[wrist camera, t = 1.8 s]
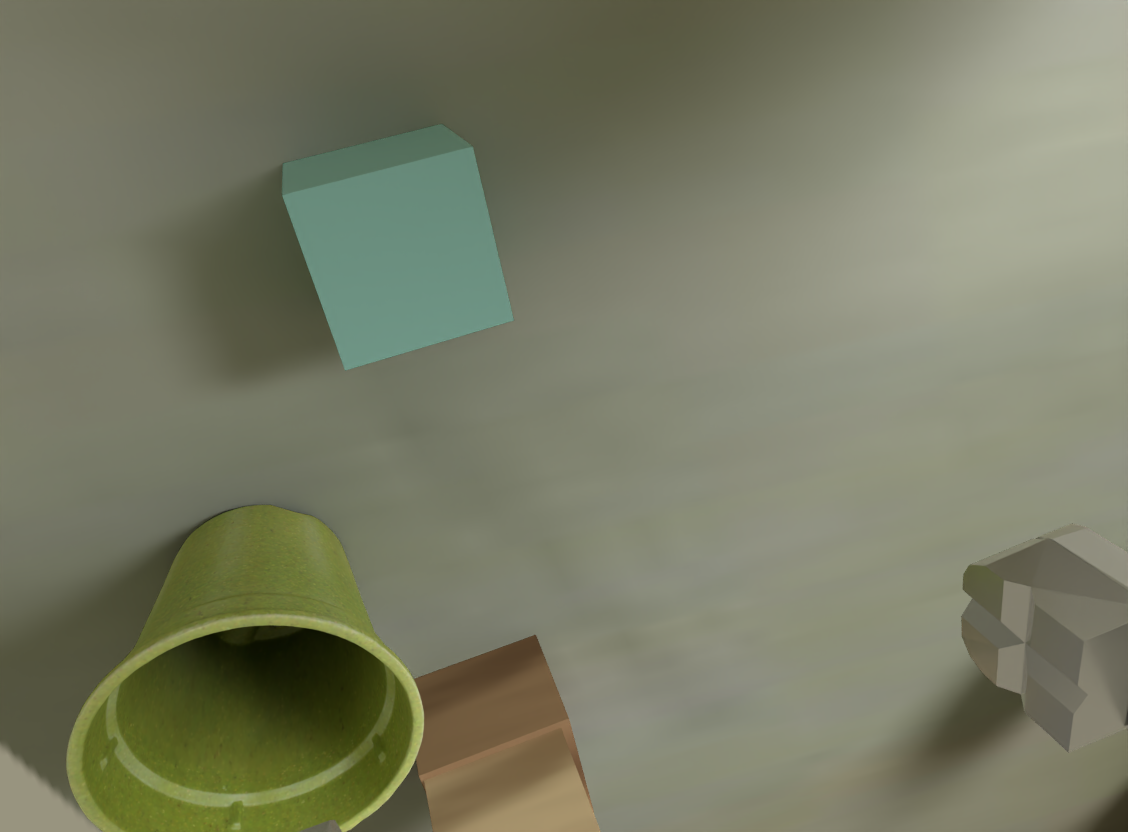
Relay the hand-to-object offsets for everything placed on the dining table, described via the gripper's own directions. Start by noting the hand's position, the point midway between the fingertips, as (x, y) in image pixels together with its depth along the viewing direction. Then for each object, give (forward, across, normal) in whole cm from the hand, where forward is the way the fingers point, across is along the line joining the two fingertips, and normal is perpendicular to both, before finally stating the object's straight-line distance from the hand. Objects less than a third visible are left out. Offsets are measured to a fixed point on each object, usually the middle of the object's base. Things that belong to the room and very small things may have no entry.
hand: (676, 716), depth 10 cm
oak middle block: (+16, +3, +20) cm, 26 cm away
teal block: (+20, +1, -2) cm, 21 cm away
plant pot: (+21, +9, +9) cm, 24 cm away
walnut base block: (+21, +3, +20) cm, 29 cm away
